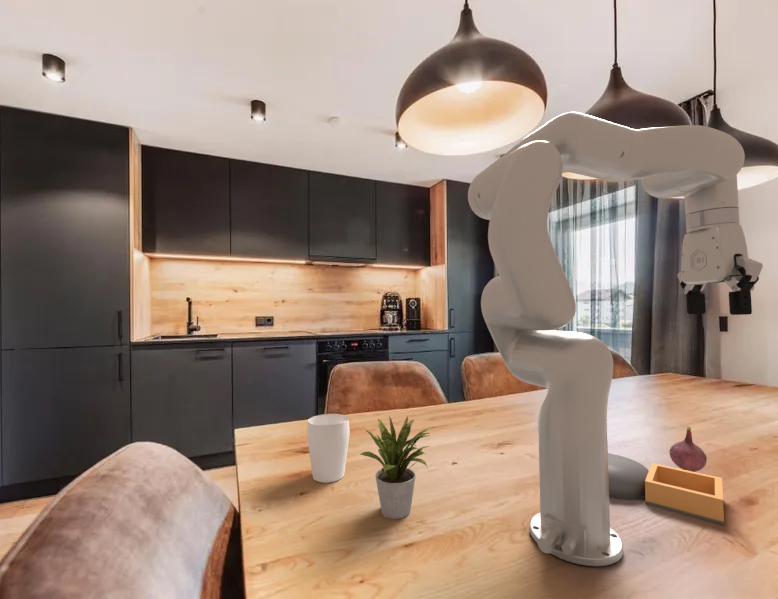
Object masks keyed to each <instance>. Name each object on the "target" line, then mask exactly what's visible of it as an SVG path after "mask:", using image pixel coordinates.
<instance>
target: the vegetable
mask: <svg viewBox="0 0 778 599" xmlns="http://www.w3.org/2000/svg"><path fill="white" fill-rule="evenodd" d="M692 433H693V432H692V428H691V427H690V426H686V434H685V438H684V440H681V441H678V442H675V443H673V445H672V446H671V447H670V449H669V457H670V459H671V461H672V462H673V463H674V465H676V467H677V468H679V469H683V470H688V471H692V472H699V471H701V470H703V469H704V468H705V466H706V464H707V461H708V459H707V458H708V456H707V455H706V453H705V451H704V450H703V449H702V448H701V447H700V446H699V445H697V444H695V443H694V441H693V435H692Z"/></svg>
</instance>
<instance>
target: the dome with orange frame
mask: <svg viewBox="0 0 778 599" xmlns="http://www.w3.org/2000/svg"><path fill="white" fill-rule="evenodd" d="M608 475H609V498H612V497H613V499H618V498H619V500H620V499H621V500H638V498H639V499H643V498H645V504H647V505H649V506H654V507H657V508H661V509H664V510H668V511H672V512H675V513H678V514H682V515H686V516H690V517H693V518H696V519H697V518H698V519H701V520H704V521H708V522H711V523H715V524H719V525H722V526H725V517H724V516H725V513H724V512H725V511H724V494H723V493H724V491H723V477H720V476H716V475H710V474H706V473H700V472H698V471H696V472H692V471H688V470H683V469H681V468H679V467H674V466H673V467H672V466H668V465H663V464H659V463H654V462H651V465H650V467H649V469H648V468H647V467H646V466H645V465H644V464H642V463H640V462H638V461H636V460H633V459H631V458H629V457H625V456H622V455H619V454H613V453H609V452H608Z"/></svg>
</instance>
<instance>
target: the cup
mask: <svg viewBox="0 0 778 599" xmlns="http://www.w3.org/2000/svg"><path fill="white" fill-rule="evenodd" d="M349 420H350V419H349V416H347V415H345V414H340V413H326V414H325V413H324V414H318V415H315V416H314V415H313V416H311V417H310V418H308V420H307V428H306V429H307V430H306V438H307V444H308V452H309V460H310V466H311V472H312V473H311V474H312V475H311V476H312V478H313V480H314V481H316V482H319V483H325V484H326V483H327V484H328V483H334V482H338V481H339V480H341V479H342V478H343V477H344V476H345V471H346V463H347V456H348V449H349V441H350V434H351V432H350V421H349Z"/></svg>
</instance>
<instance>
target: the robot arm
mask: <svg viewBox="0 0 778 599" xmlns="http://www.w3.org/2000/svg"><path fill="white" fill-rule="evenodd" d="M745 156H746V154H745V151H744V148H743V145H742V144H741V143H740V142H739V140H737V139H736V138H735V137H733V136H732V135H731V134H729V133H728V132H727V133H726V132H724V131H722V130H719V129H716V128H714V127H709V126H705V125H699V124H698V125H697V124H696V125H695V124H693V125H692V124H688V125H687V124H686V125H674V126H673V125H672V126H661V127H660V126H659V127H647V128H640V129H637V128H636V129H635V128H630V127H628V126H626V125H621V124H618V123H614V122H612V121H608V120H606V119H602V118H599V117H596V116H593V115H589V114H585V113H582V112H578V111H568V112H564V113H562V114H559V115H558V116H556V117H554V118H552V119H550V120H549V121H547V122H546V123H545V124H544V125H542V126H540V127H538V128H537V129H536V130H535V131H533V132H531V133H530V134H528V135H527V136H525V137H524V138H523V139H522V140H520V141H519V142H518V143H516V144H515V145H514V146H512V148H510V149H509V150H508V151H507V152H505V153H504V154H503V155H502V156H500V157H499V158H498V159H496V160H495V161H494V162H493V163H491V164H490V165H489V166H487V167H486V168H485V169H483V170H482V171H481V172H479V173H478V174H477V175H475V176H474V178H473V179H472V181H471V182H470V184H469V187H468V190H467V202H468V205H469V207H470V209H471V210H472V212H473V213H474V214H475V215H476V216H478V217H479V218H481V219H484V220H487V221H489V222H488V231H487V241H488V249H489V252H490V255H491V257H492V260H493V263H494V266H495V268H496V271H497V274H498V276H495V277H493V278H492V279H490V280H489V281H488V282H487V284H486V285H485V286H484V288H483V291H482V294H481V298H480V308H481V313H482V317H483V320H484V322H485V324H486V327H487V329H488V331H489V333H490V336H491V338H492V340H493V342H494V344H495V346H496V349H497V350H498V352H499V354H500V357H501V358H502V360H503V362H504V363H503V364H505V367H506V368H507V369H508V372H510V374H512V375H513V377H515V378H516V379H517V380H519V381H521V382H524V383H526V384H530V385H532V386H538V387H541V388H545V389H547V393H546V396H545V398H544V400H543V402H542V403H541V405H540V406H541V407H540V409H539V412H538V419H537V428H538V429H537V432H538V433H537V434H538V457H539V458H538V463H539V464H538V466H539V467H538V468H539V470H538V471H539V473H538V474H539V504H540V505H539V508H540V511H539V512H538V513H536V514H535V515H533V517H532V518H531V519H530V522H529V530H530V535H531V537H532V538H533V540H534V541H535V543H537V546H538V548H539V550H540V551H541V552H542V553H545V554H551V555H553V556H555V557H557V558H559V559H561V560H564V561H566V562H568V563H572V564H576V565H582V566H586V567H588V566H589V567H606V566H609V565H613V564H615V563H617V562H619V561H620V560H621V559H622V557H623V555H624V544H623V540H622V539H621V537H620V535H619V534H618V533H617V532H616V531H615V530H614V529H612V527H611V517H610V510H611V509H610V497H609V475H608V453H609V451H608V450H609V445H608V444H609V442H608V404H609V403H608V402H609V396H610V389H611V385H612V380H613V375H614V358H613V355H612V353H611V351H610V349H609V347H608V346H607V344H605V343H604V341H602V340H600V339H599V338H598V337H596V336H594V335H591V334H589V333H585V332H582V331H581V332H579V331H574V330H573V331H571V330H558V329H561V328H562V329H563V328H564V327H565V326H567V325H569V324H570V323H571V322H572V321H573V319H574V318H575V314H576V310H577V306H576V305H577V304H576V300H575V296H574V293H573V290H572V288H571V285H570V283H569V282H570V281H569V280H568V278H567V276H566V274H565V271H564V269H563V267H562V264H561V262H560V259H559V257H558V255H557V253H556V250H555V248H554V245H553V243H552V241H551V237H550V234H549V227H548V225H549V224H548V219H549V212H550V207H551V204H552V201H553V199H554V196H555V194H556V192H557V189H558V188H559V185H560V183H561V180H562V176H563V173H572V174H575V175H581V176H585V177H589V178H593V179H596V180H601V181H605V182H609V183H620V182H623V183H624V182H630V181H637V180H640V183H641V186H642V188H643V190H644V191H645V193H647V194H648V195H649V196H651V197H654V198H657V199H669V198H670V199H671V198H679V197H680V198H681V197H684V207H685V212H684V213H685V227H686V234H684V236H683V240H682V241H683V242H682V249H681V270H680V271H679V272H678V273H677V279H678V281H679V282H680V287H681V288H682V289H683V290H682V291H683V294H685V300H686V314H688V315H703V314H704V315H705V314H706V312H707V311H706V309H707V308H706V296H705V293H703V291H704V289H705V287H706V286H707V284H719V283H725V284H726V285H727V286H728V287H729V288H730V289H731V291H728V303H729V307H728V308H729V314H730V315H731V316H738V315H739V316H741V315H744V316H745V315H751V314H752V312H753V309H752V308H753V307H752V292H753V291H754V290H755V285H756V284H757V283H758V281H759V280H760V277H759V276H760V275H761V272H762V269H763V263H761V262H759V261H756V260H754V259H751V258H749V254H748V253H749V252H748V246H747V241H746V236H745V234H744V230H743V227H742V225H741V222H740V210H739V192H738V173H739V172H740V171H741V170H742V168H743V167H744V164H745Z"/></svg>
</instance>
